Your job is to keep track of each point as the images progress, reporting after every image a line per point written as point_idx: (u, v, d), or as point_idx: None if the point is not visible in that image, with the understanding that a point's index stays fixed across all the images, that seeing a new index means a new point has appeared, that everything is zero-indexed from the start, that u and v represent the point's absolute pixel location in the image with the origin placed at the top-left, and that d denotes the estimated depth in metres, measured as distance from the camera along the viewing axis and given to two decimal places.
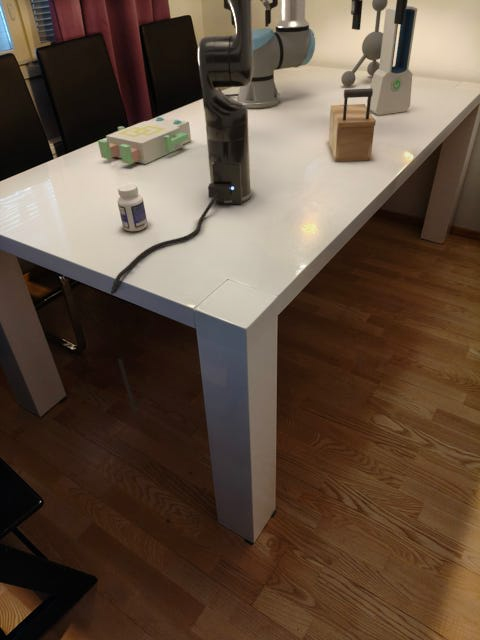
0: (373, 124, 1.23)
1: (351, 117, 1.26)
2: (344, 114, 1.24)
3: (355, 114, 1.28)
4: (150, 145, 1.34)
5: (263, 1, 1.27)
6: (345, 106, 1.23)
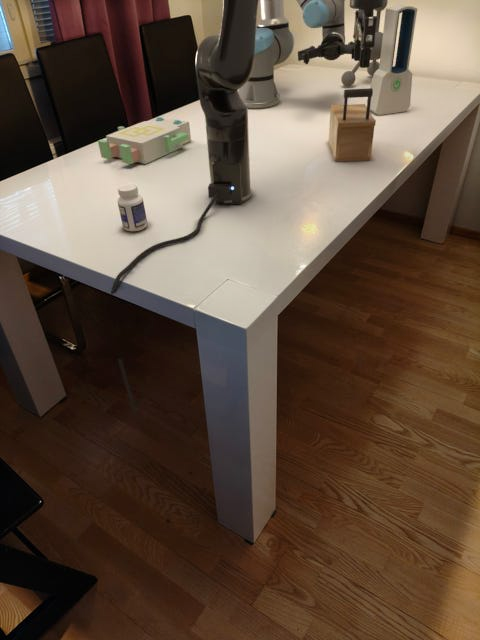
0: (373, 124, 1.23)
1: (351, 117, 1.26)
2: (344, 114, 1.24)
3: (355, 114, 1.28)
4: (150, 145, 1.34)
5: None
6: (345, 106, 1.23)
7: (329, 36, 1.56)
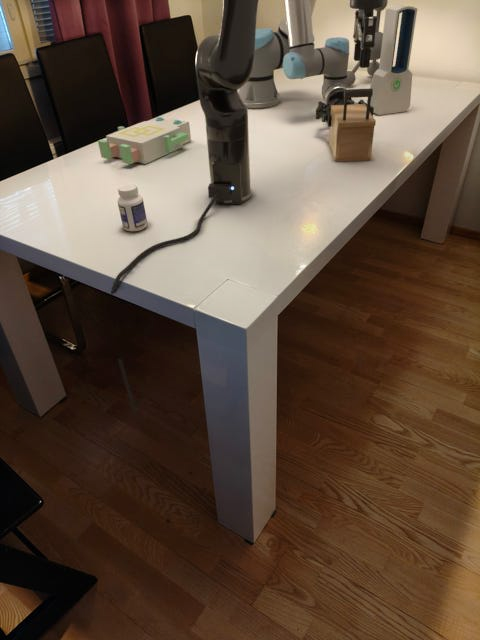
0: (373, 124, 1.23)
1: (351, 117, 1.26)
2: (344, 114, 1.24)
3: (355, 114, 1.28)
4: (150, 145, 1.34)
5: None
6: (345, 106, 1.23)
7: (338, 91, 1.48)
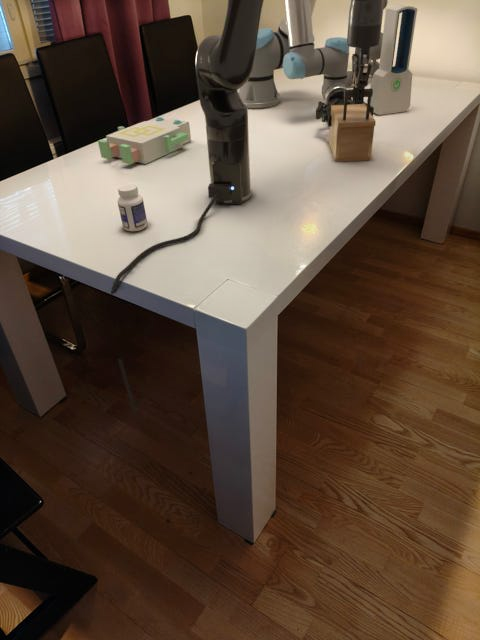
0: (373, 124, 1.23)
1: (351, 117, 1.26)
2: (344, 114, 1.24)
3: (355, 114, 1.28)
4: (150, 145, 1.34)
5: None
6: (345, 106, 1.23)
7: (338, 91, 1.48)
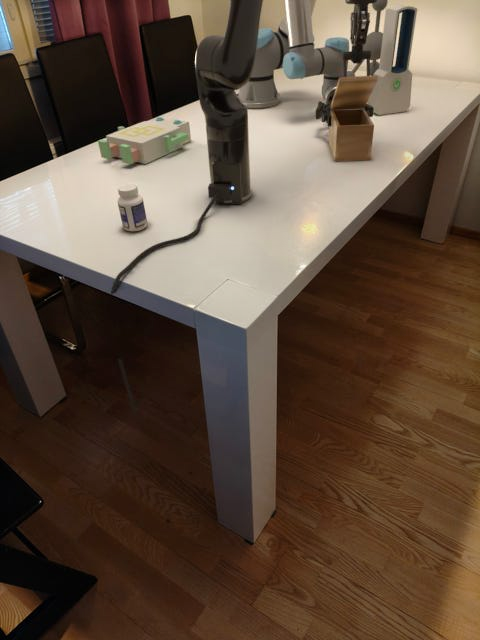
0: (375, 78, 1.20)
1: None
2: (344, 74, 1.22)
3: None
4: (150, 145, 1.34)
5: None
6: (345, 67, 1.22)
7: None
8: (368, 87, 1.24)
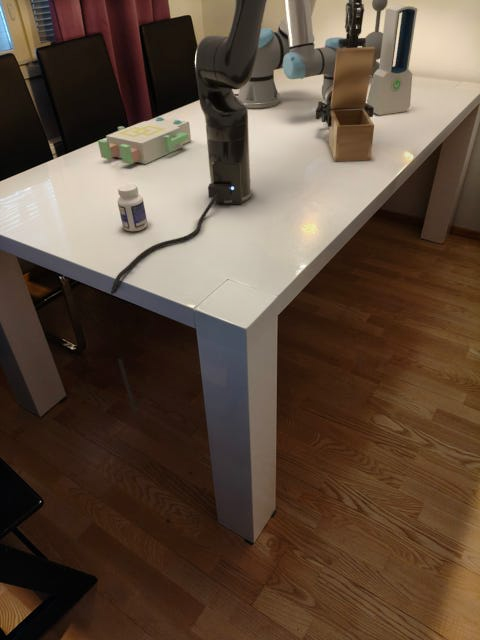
0: (373, 48, 1.22)
1: None
2: None
3: None
4: (150, 145, 1.34)
5: None
6: (341, 48, 1.26)
7: None
8: (367, 64, 1.25)
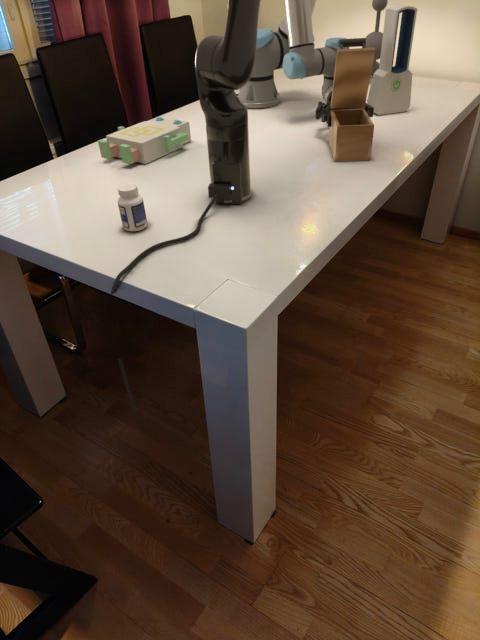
0: (373, 49, 1.22)
1: None
2: None
3: None
4: (150, 145, 1.34)
5: None
6: (342, 48, 1.26)
7: None
8: (367, 65, 1.25)
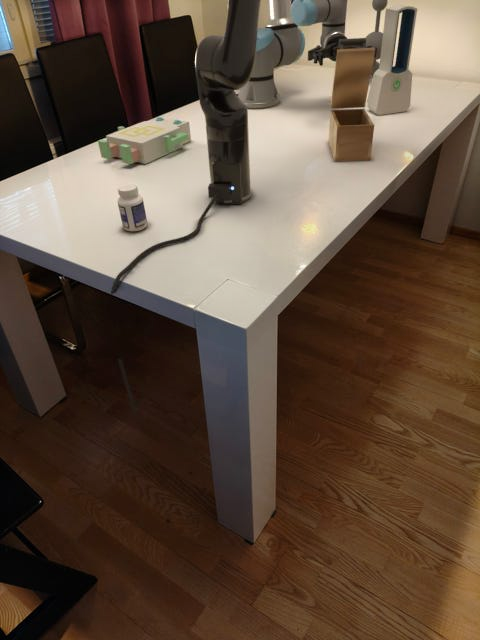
0: (373, 49, 1.22)
1: None
2: None
3: None
4: (150, 145, 1.34)
5: None
6: (342, 48, 1.26)
7: (336, 36, 1.50)
8: (367, 65, 1.25)
